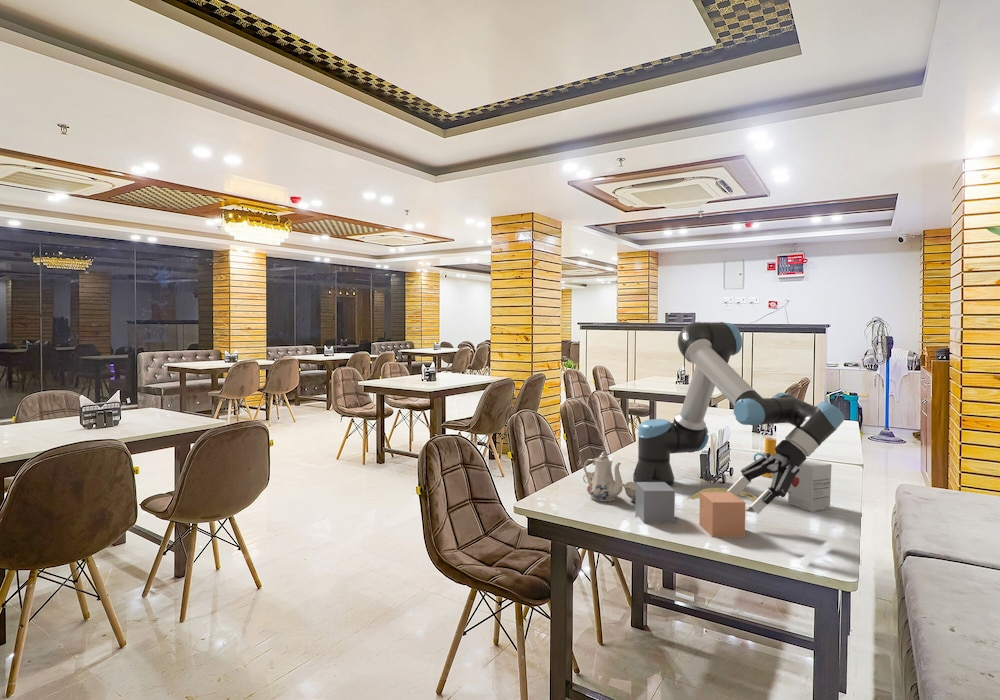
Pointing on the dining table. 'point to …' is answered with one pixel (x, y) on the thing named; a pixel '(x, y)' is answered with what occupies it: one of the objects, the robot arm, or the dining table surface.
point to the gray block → (655, 502)
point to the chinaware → (606, 480)
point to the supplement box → (811, 486)
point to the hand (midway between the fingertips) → (741, 502)
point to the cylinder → (768, 450)
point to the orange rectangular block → (722, 514)
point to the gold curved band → (722, 491)
